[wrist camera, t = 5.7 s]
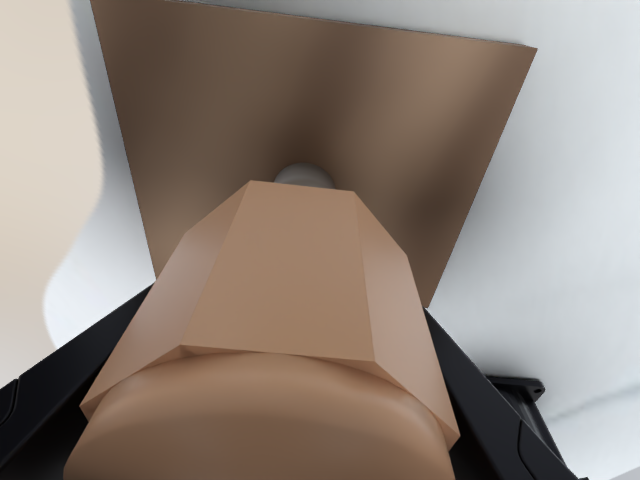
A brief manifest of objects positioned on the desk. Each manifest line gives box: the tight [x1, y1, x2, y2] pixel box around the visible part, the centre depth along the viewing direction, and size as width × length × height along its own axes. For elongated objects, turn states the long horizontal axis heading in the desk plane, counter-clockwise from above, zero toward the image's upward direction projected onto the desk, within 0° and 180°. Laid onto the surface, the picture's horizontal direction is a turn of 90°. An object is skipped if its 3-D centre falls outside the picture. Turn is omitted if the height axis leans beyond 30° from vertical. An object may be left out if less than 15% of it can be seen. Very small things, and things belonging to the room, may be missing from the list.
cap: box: [63, 180, 460, 480], centre depth 8 cm, size 6×6×6 cm
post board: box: [90, 0, 537, 308], centre depth 13 cm, size 14×12×5 cm
